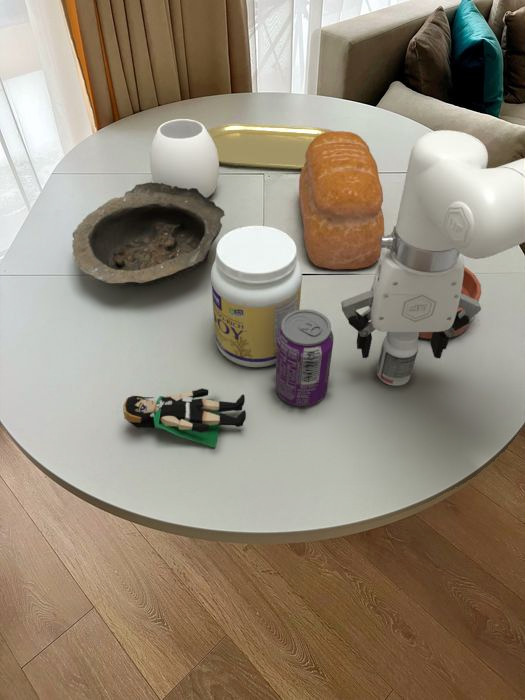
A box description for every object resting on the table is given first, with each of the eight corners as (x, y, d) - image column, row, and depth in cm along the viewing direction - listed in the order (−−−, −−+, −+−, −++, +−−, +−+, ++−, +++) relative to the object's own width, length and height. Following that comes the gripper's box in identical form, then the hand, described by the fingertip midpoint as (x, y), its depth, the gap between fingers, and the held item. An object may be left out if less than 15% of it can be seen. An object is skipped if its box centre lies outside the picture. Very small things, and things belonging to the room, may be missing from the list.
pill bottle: (416, 381, 79) (429, 338, 73) (387, 390, 77) (397, 348, 71) (398, 358, 82) (410, 315, 76) (370, 367, 80) (379, 324, 74)
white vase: (144, 207, 109) (133, 140, 100) (168, 174, 118) (160, 110, 109) (209, 216, 107) (204, 149, 98) (228, 182, 116) (225, 117, 107)
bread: (305, 272, 95) (311, 192, 84) (295, 192, 114) (299, 117, 103) (384, 272, 96) (400, 191, 85) (362, 191, 114) (372, 117, 103)
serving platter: (205, 128, 134) (204, 121, 133) (353, 136, 131) (353, 129, 130) (189, 166, 121) (188, 159, 120) (353, 176, 118) (353, 169, 117)
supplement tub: (198, 341, 84) (188, 248, 72) (256, 302, 90) (255, 210, 78) (257, 385, 78) (257, 291, 66) (314, 340, 84) (323, 247, 72)
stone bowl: (242, 232, 103) (240, 189, 96) (195, 330, 88) (189, 288, 81) (118, 210, 107) (107, 167, 100) (53, 300, 92) (35, 257, 85)
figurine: (247, 430, 68) (120, 423, 65) (239, 456, 72) (119, 451, 69) (243, 382, 74) (126, 374, 71) (236, 409, 78) (125, 402, 75)
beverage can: (335, 383, 78) (345, 319, 70) (311, 417, 74) (318, 354, 65) (291, 362, 81) (295, 299, 72) (265, 395, 77) (266, 332, 68)
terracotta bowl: (480, 302, 90) (491, 272, 86) (456, 353, 82) (467, 324, 78) (401, 276, 95) (408, 247, 90) (372, 322, 87) (377, 293, 83)
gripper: (353, 265, 61) (338, 371, 73) (512, 266, 61) (470, 371, 73) (346, 226, 66) (332, 331, 79) (492, 227, 66) (456, 331, 79)
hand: (399, 350), depth 76 cm, fingers open, 9 cm apart
